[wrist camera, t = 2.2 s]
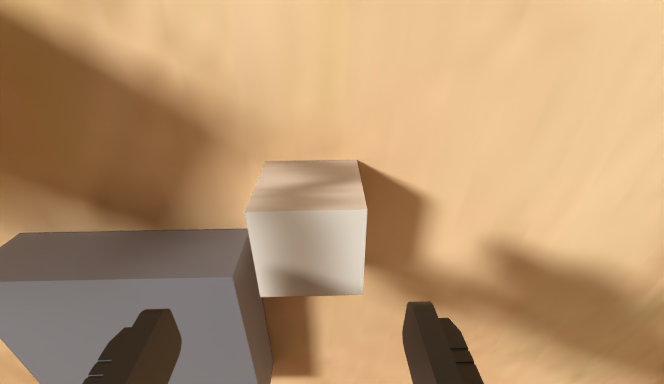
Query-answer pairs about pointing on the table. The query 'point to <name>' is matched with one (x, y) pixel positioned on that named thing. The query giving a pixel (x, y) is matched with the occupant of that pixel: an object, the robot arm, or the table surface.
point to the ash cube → (308, 228)
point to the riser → (134, 301)
